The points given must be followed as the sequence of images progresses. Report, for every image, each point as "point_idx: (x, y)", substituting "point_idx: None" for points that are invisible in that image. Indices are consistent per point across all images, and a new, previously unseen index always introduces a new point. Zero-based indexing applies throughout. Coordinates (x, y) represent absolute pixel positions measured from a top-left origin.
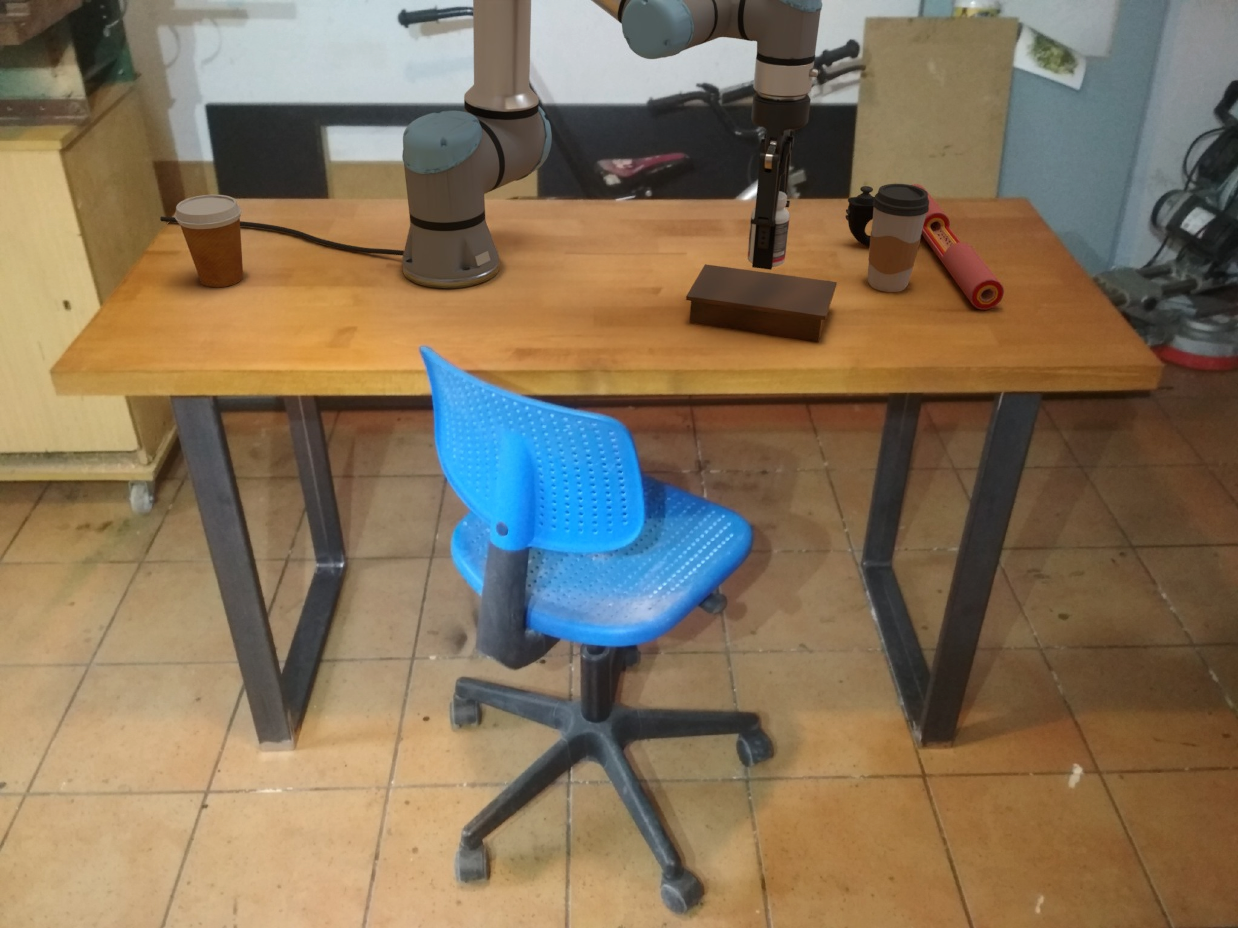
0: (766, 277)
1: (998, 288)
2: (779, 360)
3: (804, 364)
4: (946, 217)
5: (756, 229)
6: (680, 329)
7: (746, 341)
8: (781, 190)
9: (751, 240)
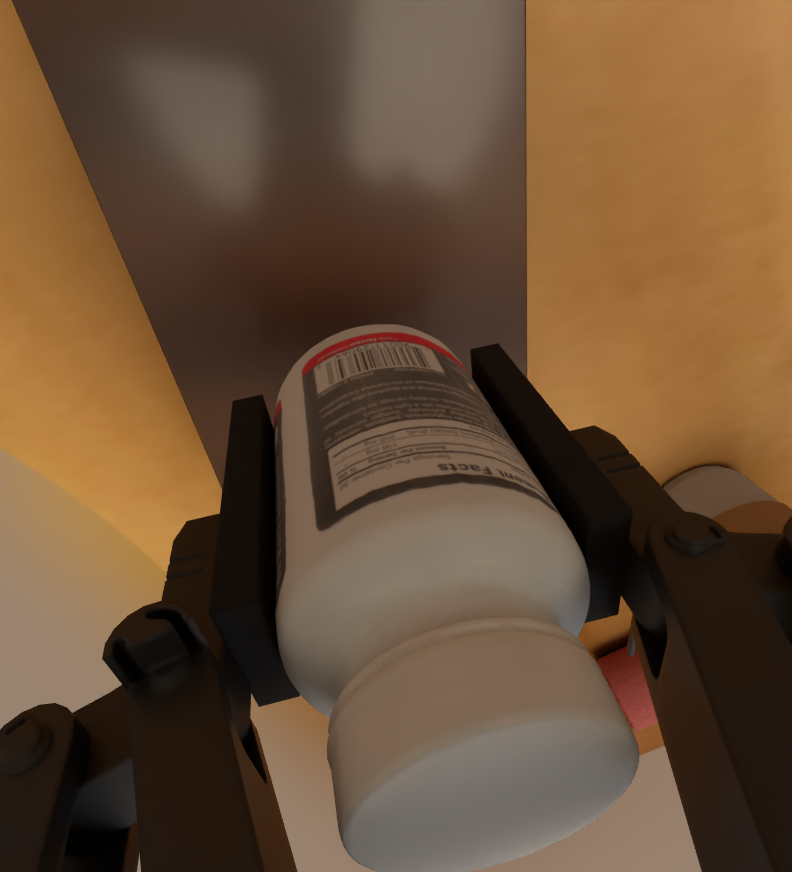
0: (476, 310)
1: (626, 717)
2: (84, 462)
3: (117, 519)
4: None
5: (214, 577)
6: (4, 8)
7: (127, 329)
8: (678, 767)
9: (303, 432)
